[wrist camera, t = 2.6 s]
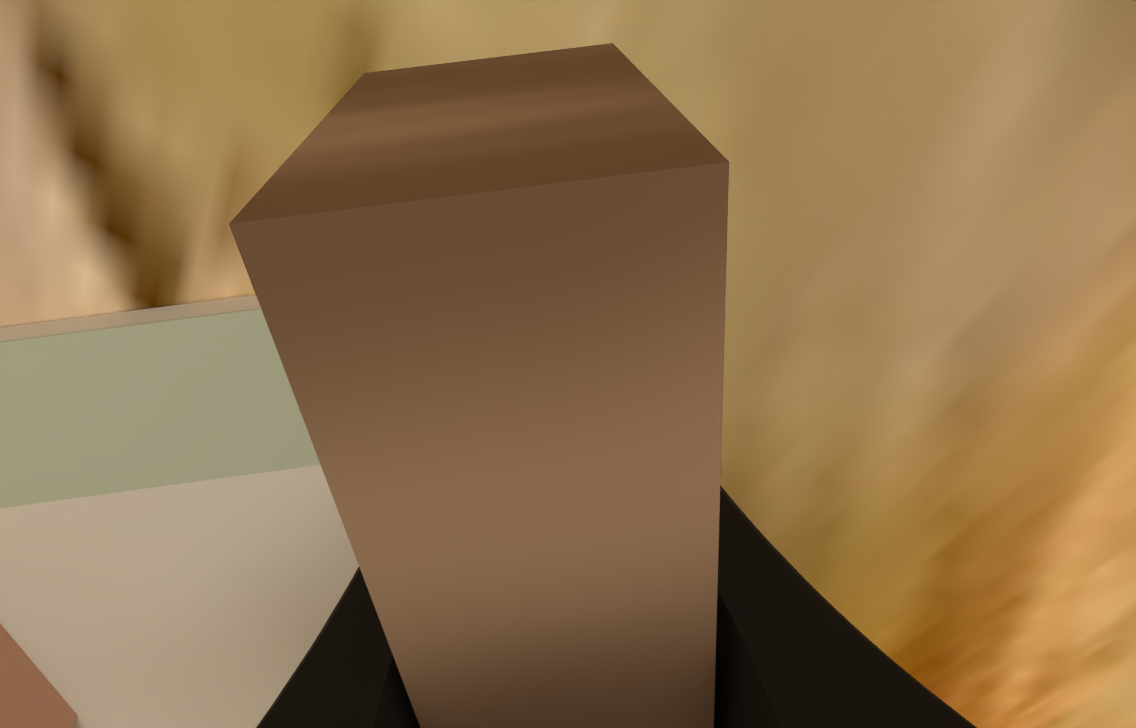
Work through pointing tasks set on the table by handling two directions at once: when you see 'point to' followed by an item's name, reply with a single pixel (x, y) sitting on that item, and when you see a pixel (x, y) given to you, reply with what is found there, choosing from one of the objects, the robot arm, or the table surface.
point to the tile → (28, 692)
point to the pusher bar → (514, 379)
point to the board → (162, 515)
